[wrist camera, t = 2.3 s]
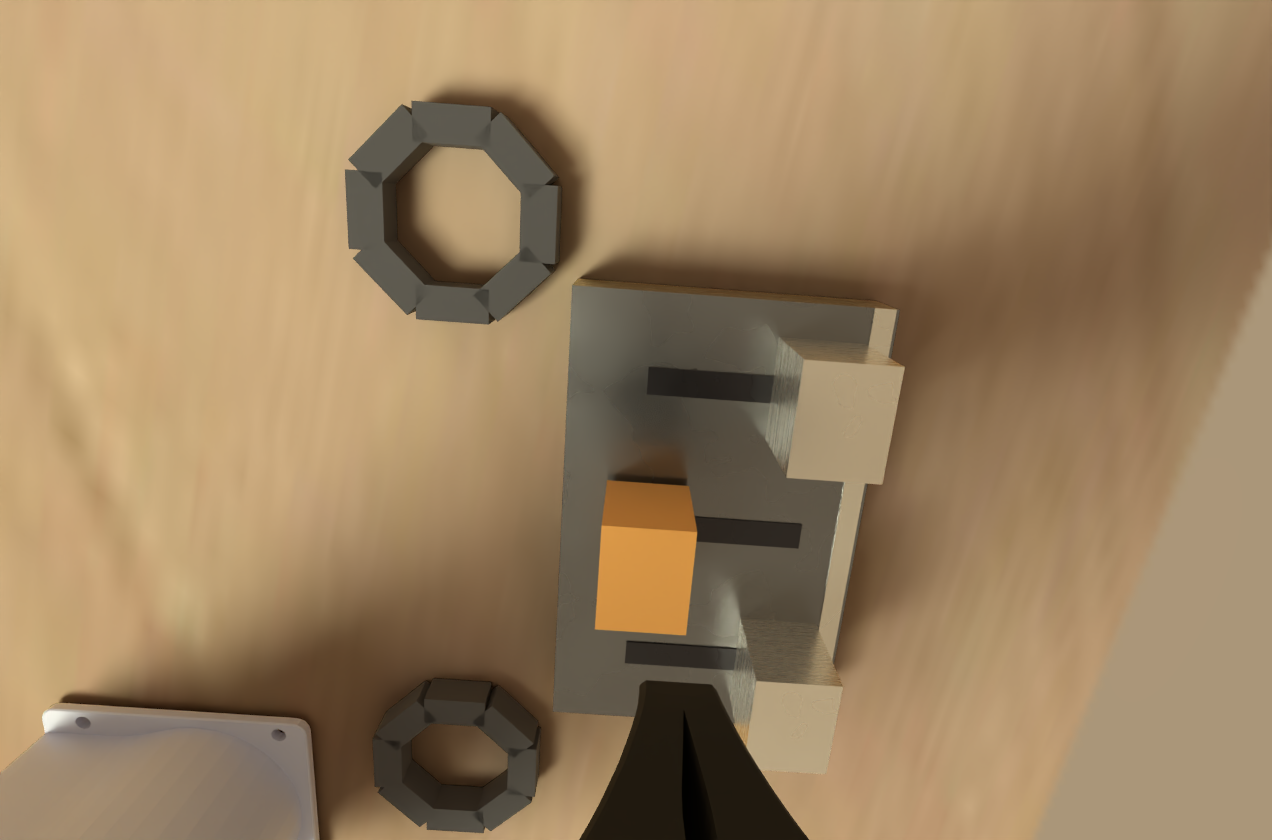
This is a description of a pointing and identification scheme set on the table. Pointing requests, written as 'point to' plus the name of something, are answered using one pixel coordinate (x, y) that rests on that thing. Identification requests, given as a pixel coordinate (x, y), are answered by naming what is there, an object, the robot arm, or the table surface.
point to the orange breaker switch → (646, 558)
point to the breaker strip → (727, 493)
